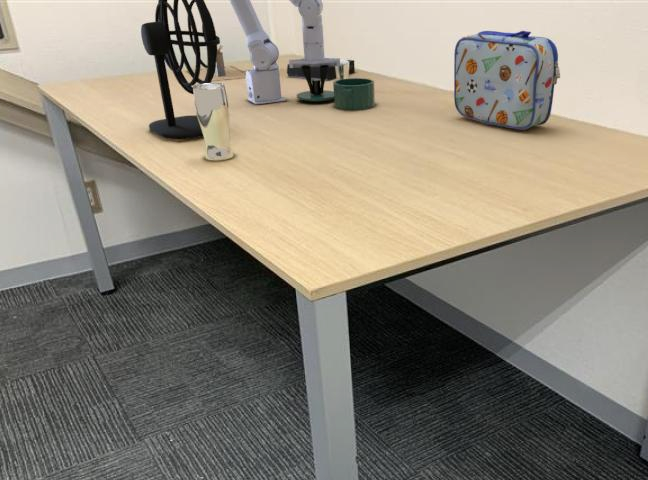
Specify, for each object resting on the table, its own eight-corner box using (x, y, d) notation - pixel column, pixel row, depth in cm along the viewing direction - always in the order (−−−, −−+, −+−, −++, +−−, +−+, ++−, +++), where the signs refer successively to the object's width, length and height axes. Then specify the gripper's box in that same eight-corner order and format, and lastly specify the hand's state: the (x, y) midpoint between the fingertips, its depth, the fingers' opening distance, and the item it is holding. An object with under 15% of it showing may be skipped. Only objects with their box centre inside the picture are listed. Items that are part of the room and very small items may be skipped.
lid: (291, 102, 192) (289, 83, 189) (303, 93, 202) (302, 75, 199) (331, 103, 190) (330, 84, 187) (342, 94, 200) (341, 76, 197)
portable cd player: (315, 69, 242) (314, 57, 240) (354, 72, 234) (354, 60, 232) (287, 76, 230) (286, 64, 228) (327, 80, 222) (326, 67, 220)
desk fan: (246, 135, 163) (226, -28, 145) (177, 148, 155) (146, -24, 136) (202, 115, 182) (179, -31, 164) (138, 126, 173) (106, -28, 155)
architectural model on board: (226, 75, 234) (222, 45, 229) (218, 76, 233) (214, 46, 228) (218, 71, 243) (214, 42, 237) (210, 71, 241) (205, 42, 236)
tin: (327, 111, 183) (326, 87, 180) (342, 99, 197) (341, 76, 194) (367, 112, 181) (366, 88, 178) (380, 99, 195) (379, 76, 192)
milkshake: (352, 92, 205) (350, 57, 200) (335, 92, 206) (333, 57, 201) (353, 89, 209) (352, 54, 204) (337, 89, 210) (335, 55, 205)
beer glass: (221, 150, 152) (211, 81, 144) (241, 155, 148) (232, 84, 140) (196, 157, 147) (184, 86, 140) (216, 163, 143) (205, 90, 136)
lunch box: (560, 128, 163) (572, 29, 151) (536, 137, 157) (545, 34, 145) (472, 111, 180) (476, 22, 168) (447, 118, 174) (449, 26, 162)
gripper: (286, 45, 184) (291, 96, 191) (339, 44, 185) (341, 95, 192) (288, 42, 190) (292, 91, 197) (339, 40, 191) (341, 90, 198)
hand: (316, 93), depth 195 cm, fingers closed on lid, 2 cm apart
